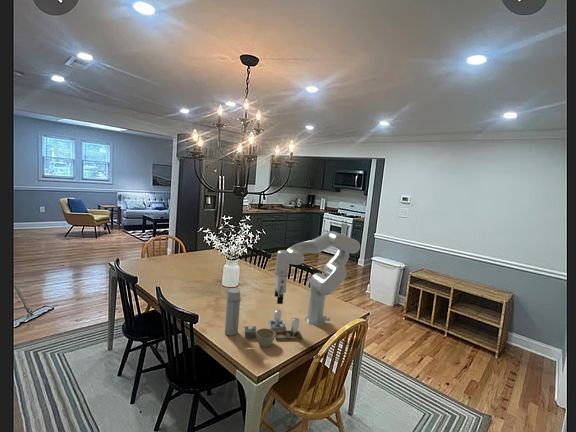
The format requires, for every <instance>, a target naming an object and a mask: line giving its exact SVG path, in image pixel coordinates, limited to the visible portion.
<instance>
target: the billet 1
mask: <svg viewBox="0 0 576 432" xmlns="http://www.w3.org/2000/svg"><path fill="white" fill-rule="evenodd" d="M273 320H274V323H272V324H273V326H272V327H281V323H280V321H281V320H282V310H281V309H279V308H278V309H275V310H274V316H273Z"/></svg>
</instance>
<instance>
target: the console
mask: <svg viewBox="0 0 576 432" xmlns="http://www.w3.org/2000/svg"><path fill="white" fill-rule="evenodd" d="M248 327H253V328H254V330H253V331H248ZM256 332H257V326H256V325H255V326H249V325H248V326H244V338H245V339H257V337H256Z"/></svg>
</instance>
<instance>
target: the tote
mask: <svg viewBox="0 0 576 432" xmlns="http://www.w3.org/2000/svg"><path fill="white" fill-rule="evenodd" d="M273 323H274V319H273V320H272V319H269V320H268V324H269V329H271V330H273V331H286V330H285V328H286V326H285V323H284V321H283V320H282V319H281V321H280V324H281V326H280V327H274V326H272V324H273Z"/></svg>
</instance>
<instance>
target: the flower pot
mask: <svg viewBox="0 0 576 432" xmlns="http://www.w3.org/2000/svg"><path fill="white" fill-rule="evenodd" d="M256 331H257V332H256V340H257V343H258V345H259V347H262V348H269V347H270V346H271V345H272V344H273V342H274V340H275V332H274V331H275V330H271V329H270V328H268V327H267V328H266V327H265V328H260V329H256Z"/></svg>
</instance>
